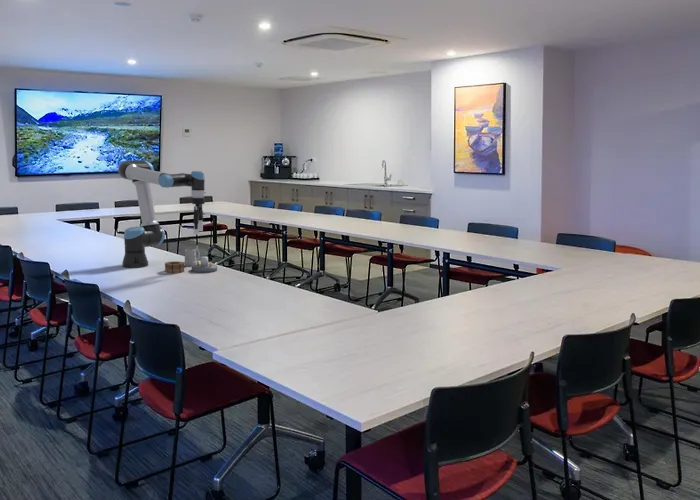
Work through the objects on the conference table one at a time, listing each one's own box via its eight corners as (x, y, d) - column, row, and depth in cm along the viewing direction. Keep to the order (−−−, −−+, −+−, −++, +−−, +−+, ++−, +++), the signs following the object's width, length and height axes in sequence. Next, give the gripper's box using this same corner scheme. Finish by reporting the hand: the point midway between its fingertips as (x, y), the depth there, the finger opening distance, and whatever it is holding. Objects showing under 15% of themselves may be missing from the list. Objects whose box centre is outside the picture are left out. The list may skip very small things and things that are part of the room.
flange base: (186, 271, 372) (186, 258, 370) (200, 267, 386) (200, 254, 384) (208, 273, 367) (208, 260, 365) (221, 269, 381) (221, 256, 379)
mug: (181, 265, 390) (180, 246, 388) (195, 262, 399) (195, 244, 397) (190, 266, 386) (189, 247, 384) (204, 264, 395) (203, 245, 393)
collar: (166, 273, 364) (166, 265, 363) (163, 270, 374) (163, 262, 373) (185, 272, 369) (185, 264, 368) (182, 269, 378) (182, 260, 378)
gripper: (200, 199, 359) (201, 236, 363) (207, 195, 384) (208, 229, 387) (187, 199, 359) (188, 235, 362) (195, 195, 383) (195, 229, 387)
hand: (198, 232), depth 375 cm, fingers open, 13 cm apart
